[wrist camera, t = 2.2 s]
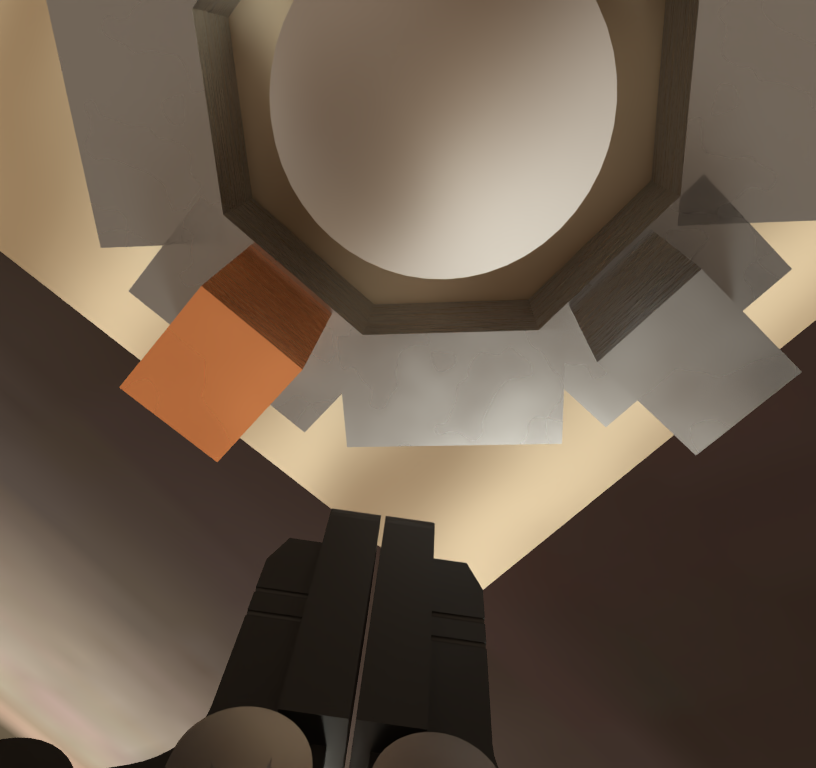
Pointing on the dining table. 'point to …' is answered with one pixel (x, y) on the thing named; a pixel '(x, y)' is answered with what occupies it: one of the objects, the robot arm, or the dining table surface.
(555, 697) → the dining table surface
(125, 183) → the ring nut
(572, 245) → the base plate
